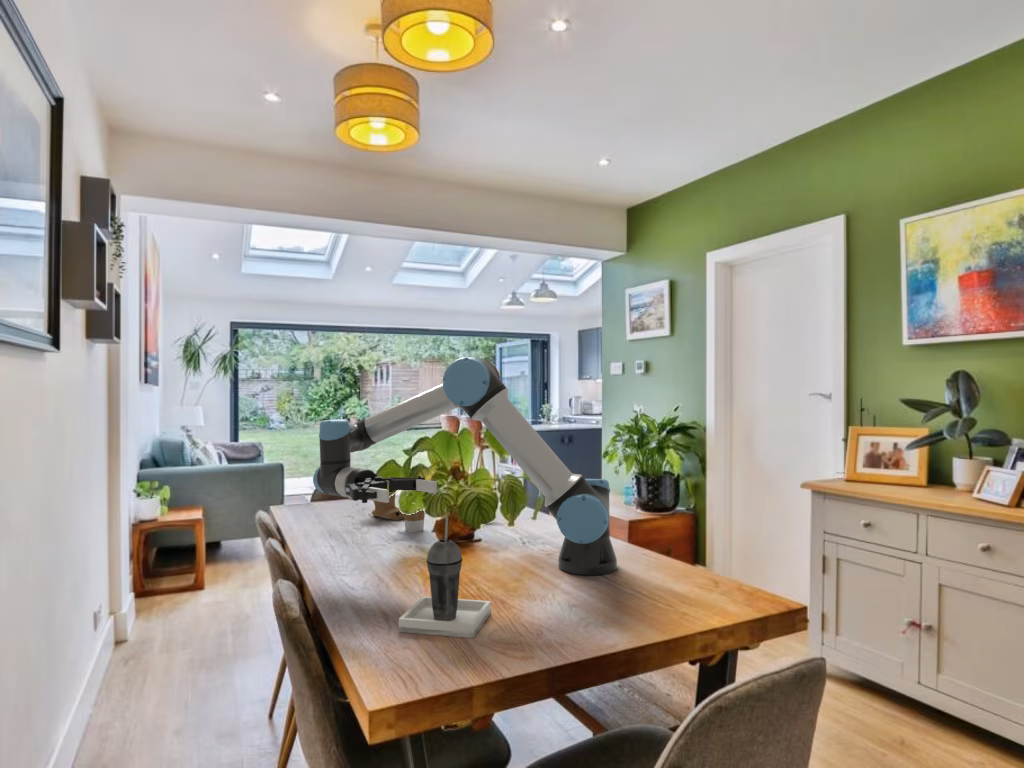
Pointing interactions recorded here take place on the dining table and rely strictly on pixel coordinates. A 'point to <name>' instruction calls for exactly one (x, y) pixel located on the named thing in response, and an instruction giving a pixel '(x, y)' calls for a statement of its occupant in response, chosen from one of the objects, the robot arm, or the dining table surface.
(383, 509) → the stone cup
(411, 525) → the coffee cup
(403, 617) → the tray
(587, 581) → the dining table surface
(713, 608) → the dining table surface
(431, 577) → the beverage cup
